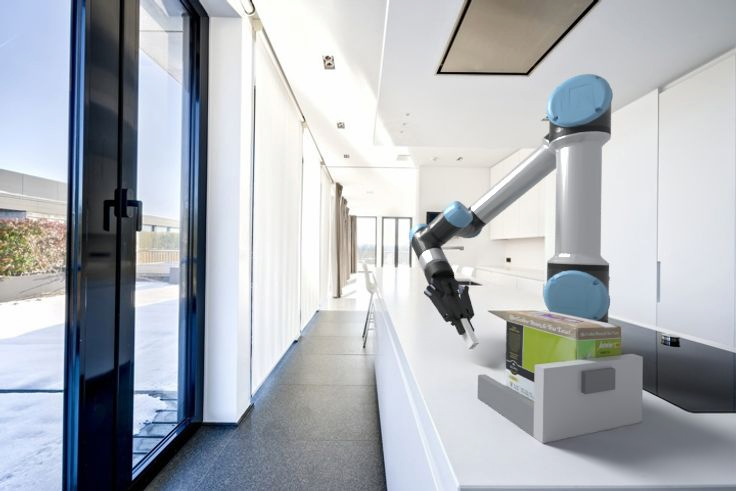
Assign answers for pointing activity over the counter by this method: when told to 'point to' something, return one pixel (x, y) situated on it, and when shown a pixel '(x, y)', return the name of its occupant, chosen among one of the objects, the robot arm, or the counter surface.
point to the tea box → (552, 343)
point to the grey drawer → (572, 397)
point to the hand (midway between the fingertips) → (473, 346)
